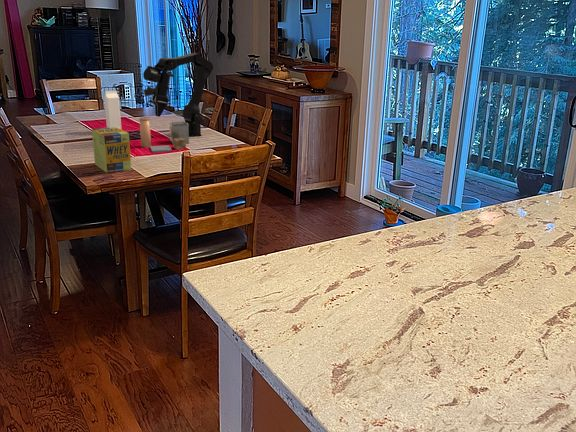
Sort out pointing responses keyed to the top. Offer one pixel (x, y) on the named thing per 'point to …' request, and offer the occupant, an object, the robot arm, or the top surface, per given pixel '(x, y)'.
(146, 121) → the canister
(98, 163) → the protein box
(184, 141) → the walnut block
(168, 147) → the pad
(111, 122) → the milk
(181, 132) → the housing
